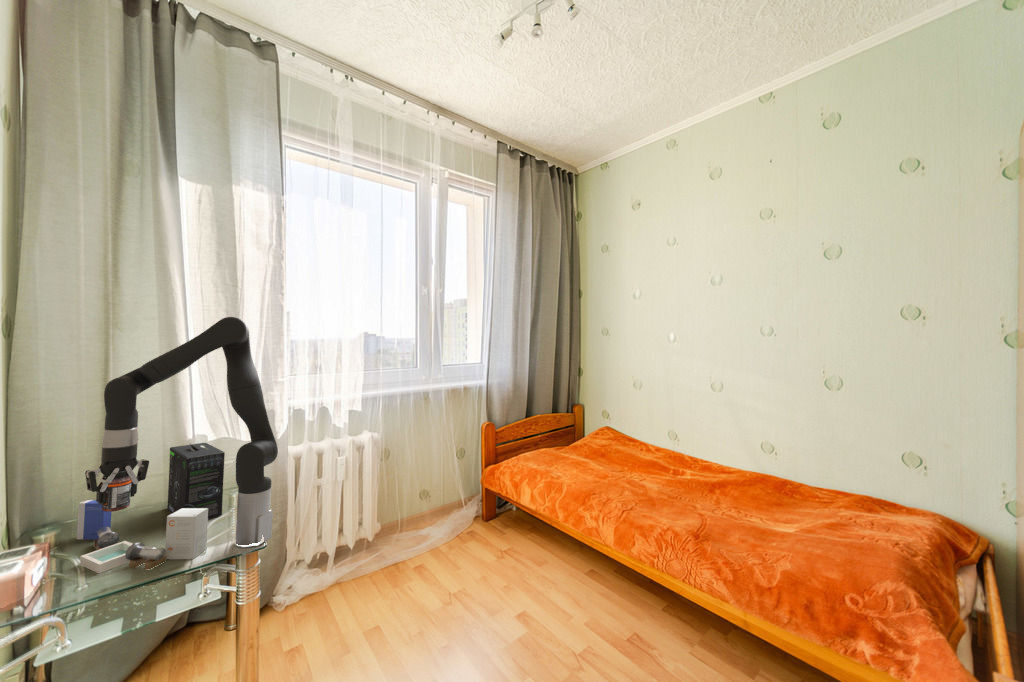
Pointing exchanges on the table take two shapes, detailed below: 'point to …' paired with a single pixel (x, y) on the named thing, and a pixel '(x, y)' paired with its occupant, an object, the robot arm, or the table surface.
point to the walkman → (91, 519)
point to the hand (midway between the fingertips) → (116, 499)
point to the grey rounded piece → (145, 555)
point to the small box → (186, 533)
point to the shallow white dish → (106, 557)
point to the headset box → (196, 478)
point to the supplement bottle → (118, 493)
